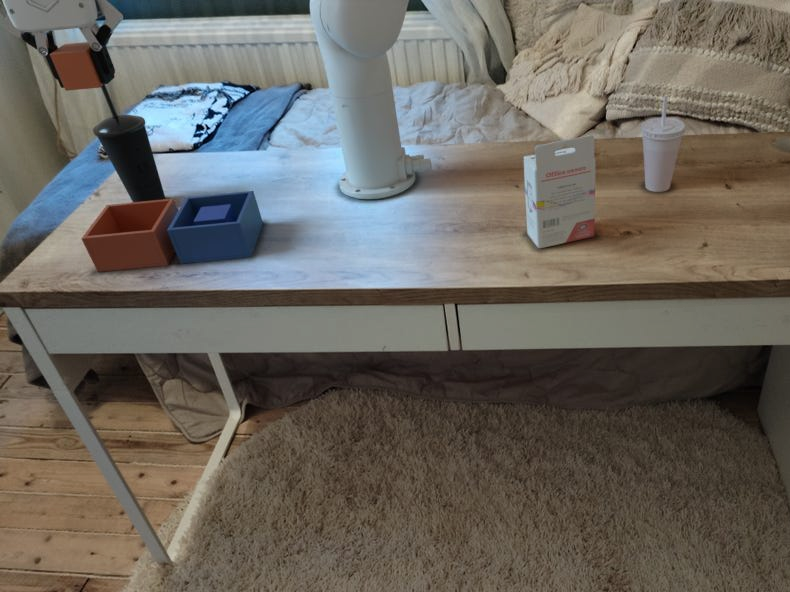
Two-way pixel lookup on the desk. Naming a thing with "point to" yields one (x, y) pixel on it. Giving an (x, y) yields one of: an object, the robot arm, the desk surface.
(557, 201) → the ink cartridge box
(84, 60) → the terracotta block
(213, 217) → the blue block
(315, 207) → the desk surface
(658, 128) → the smoothie
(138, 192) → the drinking cup
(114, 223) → the terracotta bin
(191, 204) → the blue bin
